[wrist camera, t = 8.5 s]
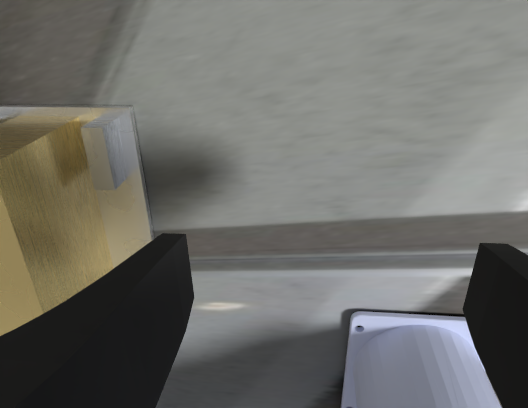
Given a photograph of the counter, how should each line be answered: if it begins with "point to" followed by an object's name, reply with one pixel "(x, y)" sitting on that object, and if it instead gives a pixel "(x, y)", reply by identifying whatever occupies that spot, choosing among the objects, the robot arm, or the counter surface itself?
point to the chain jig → (108, 170)
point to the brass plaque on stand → (46, 218)
